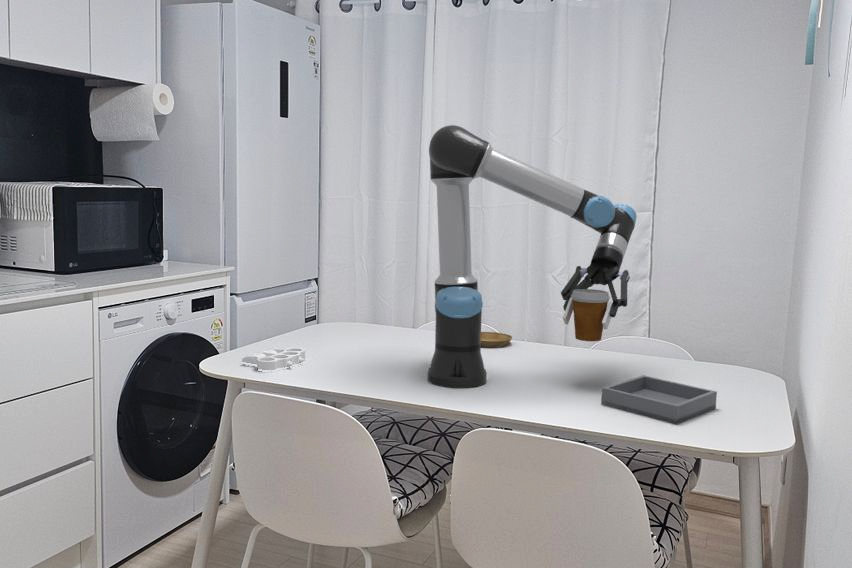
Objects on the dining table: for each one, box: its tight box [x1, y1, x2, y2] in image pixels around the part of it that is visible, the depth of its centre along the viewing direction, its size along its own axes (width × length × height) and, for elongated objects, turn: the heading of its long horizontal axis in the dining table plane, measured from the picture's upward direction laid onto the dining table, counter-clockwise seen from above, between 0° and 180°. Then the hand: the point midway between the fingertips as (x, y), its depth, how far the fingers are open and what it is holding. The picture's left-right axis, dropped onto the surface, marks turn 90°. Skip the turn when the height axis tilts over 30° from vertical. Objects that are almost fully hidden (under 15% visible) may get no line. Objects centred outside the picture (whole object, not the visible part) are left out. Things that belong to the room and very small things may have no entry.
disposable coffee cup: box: [571, 288, 611, 342], centre depth 192 cm, size 10×10×12 cm
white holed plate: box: [241, 347, 306, 370], centre depth 211 cm, size 3×18×15 cm
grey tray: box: [600, 375, 718, 425], centre depth 178 cm, size 19×18×4 cm
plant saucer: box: [481, 331, 513, 348], centre depth 243 cm, size 15×15×3 cm
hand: (584, 323), depth 190 cm, fingers closed on disposable coffee cup, 9 cm apart
